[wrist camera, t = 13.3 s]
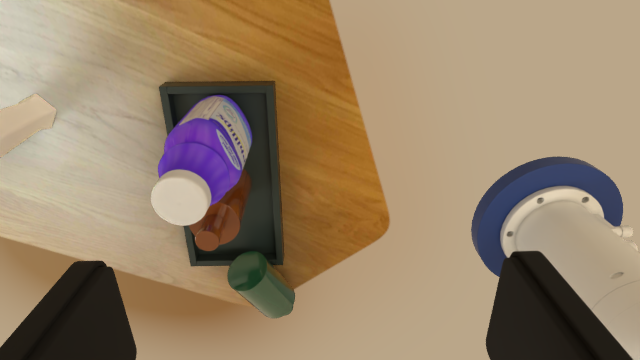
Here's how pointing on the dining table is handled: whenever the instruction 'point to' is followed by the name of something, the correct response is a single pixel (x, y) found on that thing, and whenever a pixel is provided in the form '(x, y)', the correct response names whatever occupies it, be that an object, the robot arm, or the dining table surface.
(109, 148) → the dining table surface
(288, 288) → the green bottle
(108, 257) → the dining table surface
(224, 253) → the tray
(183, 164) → the bottle
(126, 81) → the dining table surface
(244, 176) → the middle bottle
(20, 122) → the perfume bottle
